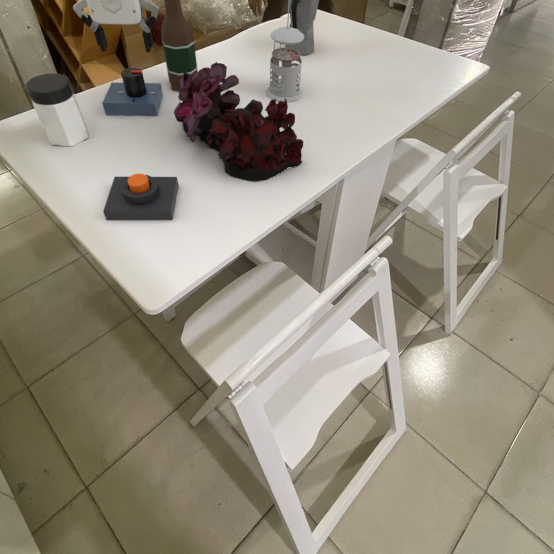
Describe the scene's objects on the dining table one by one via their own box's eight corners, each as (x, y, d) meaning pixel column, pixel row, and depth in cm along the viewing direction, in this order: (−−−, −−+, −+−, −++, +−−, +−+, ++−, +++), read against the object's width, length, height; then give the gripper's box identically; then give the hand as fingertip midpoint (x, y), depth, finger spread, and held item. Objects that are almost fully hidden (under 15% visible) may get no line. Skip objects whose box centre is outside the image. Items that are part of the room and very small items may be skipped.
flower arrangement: (314, 154, 88) (323, 87, 77) (254, 198, 79) (254, 129, 67) (215, 104, 100) (209, 39, 88) (152, 136, 90) (136, 68, 78)
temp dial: (124, 97, 94) (118, 75, 90) (128, 87, 97) (122, 66, 93) (145, 97, 95) (140, 76, 91) (148, 87, 98) (143, 66, 94)
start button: (128, 193, 73) (125, 185, 71) (131, 181, 75) (129, 173, 73) (148, 193, 73) (146, 186, 71) (151, 181, 75) (149, 173, 74)
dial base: (106, 115, 95) (101, 102, 93) (114, 94, 101) (111, 81, 99) (157, 115, 96) (154, 103, 93) (162, 95, 102) (160, 82, 99)
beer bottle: (163, 84, 105) (143, -27, 86) (188, 75, 109) (173, -33, 90) (180, 96, 102) (163, -17, 83) (205, 86, 105) (194, -24, 86)
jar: (48, 129, 90) (23, 75, 81) (85, 122, 93) (66, 69, 83) (51, 151, 86) (25, 96, 76) (91, 143, 88) (71, 89, 78)
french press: (272, 104, 101) (275, -13, 81) (258, 83, 108) (259, -31, 88) (308, 99, 103) (320, -17, 84) (292, 78, 110) (300, -33, 90)
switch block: (106, 220, 73) (99, 203, 70) (117, 185, 79) (111, 168, 76) (172, 220, 74) (168, 203, 71) (178, 185, 80) (175, 169, 77)
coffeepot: (292, 38, 127) (297, -31, 113) (320, 44, 125) (328, -26, 111) (275, 57, 118) (277, -15, 103) (305, 64, 116) (311, -10, 102)
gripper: (49, -43, 72) (83, 56, 86) (146, -41, 73) (164, 57, 87) (61, -54, 77) (91, 41, 90) (152, -52, 78) (168, 42, 91)
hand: (127, 49), depth 88 cm, fingers open, 9 cm apart
